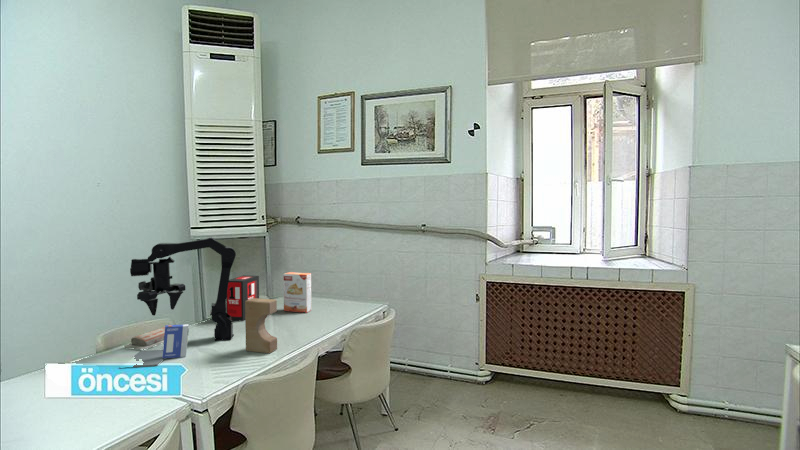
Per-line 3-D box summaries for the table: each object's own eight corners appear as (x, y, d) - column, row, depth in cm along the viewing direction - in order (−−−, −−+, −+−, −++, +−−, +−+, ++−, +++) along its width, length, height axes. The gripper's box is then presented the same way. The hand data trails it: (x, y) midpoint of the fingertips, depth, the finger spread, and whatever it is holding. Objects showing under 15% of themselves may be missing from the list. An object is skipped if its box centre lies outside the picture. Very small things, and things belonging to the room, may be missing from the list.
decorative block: (277, 349, 159) (277, 299, 159) (269, 354, 154) (268, 302, 153) (254, 346, 163) (253, 297, 162) (245, 351, 157) (244, 300, 156)
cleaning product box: (243, 321, 199) (242, 281, 199) (226, 320, 201) (226, 280, 200) (259, 312, 216) (258, 275, 215) (243, 311, 217) (243, 275, 216)
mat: (173, 350, 158) (173, 348, 158) (157, 366, 142) (157, 364, 142) (140, 352, 156) (140, 350, 156) (119, 368, 140) (119, 366, 140)
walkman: (162, 358, 147) (165, 326, 147) (162, 356, 150) (165, 324, 150) (186, 356, 151) (189, 325, 151) (186, 354, 154) (189, 323, 154)
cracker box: (283, 311, 218) (282, 273, 217) (289, 308, 224) (288, 271, 223) (306, 313, 214) (306, 274, 213) (311, 310, 220) (311, 272, 219)
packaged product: (162, 325, 177) (180, 327, 174) (162, 335, 177) (180, 338, 175) (123, 337, 160) (143, 340, 157) (124, 349, 160) (143, 352, 157)
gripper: (164, 270, 173) (165, 305, 174) (124, 277, 155) (126, 317, 156) (185, 270, 170) (187, 307, 171) (148, 278, 152) (149, 319, 153)
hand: (163, 312), depth 163 cm, fingers open, 9 cm apart
